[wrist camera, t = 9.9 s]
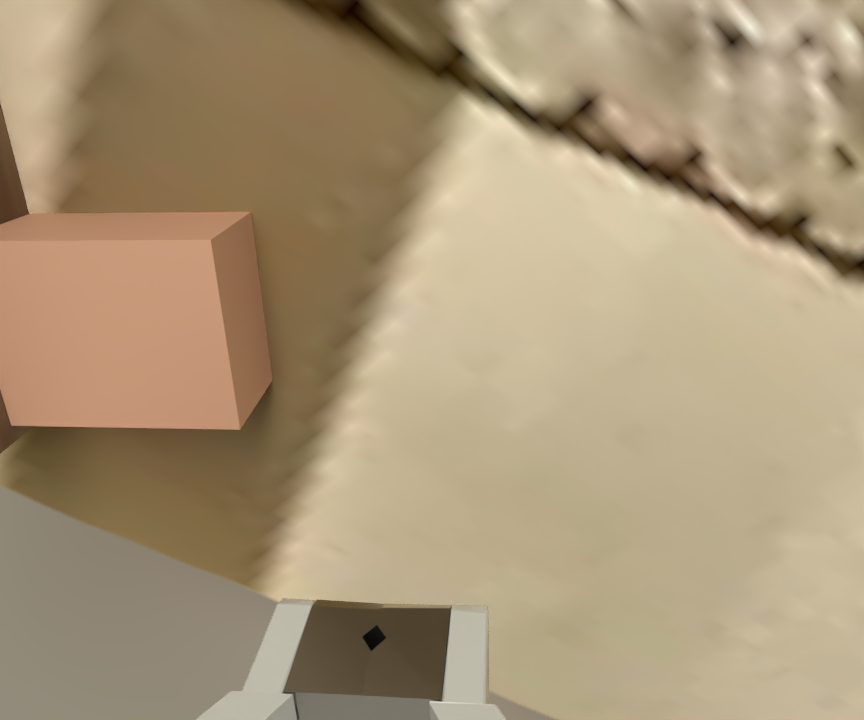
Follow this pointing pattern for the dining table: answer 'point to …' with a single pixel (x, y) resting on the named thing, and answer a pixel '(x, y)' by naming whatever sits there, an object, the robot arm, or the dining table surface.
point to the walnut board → (3, 204)
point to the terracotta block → (131, 320)
